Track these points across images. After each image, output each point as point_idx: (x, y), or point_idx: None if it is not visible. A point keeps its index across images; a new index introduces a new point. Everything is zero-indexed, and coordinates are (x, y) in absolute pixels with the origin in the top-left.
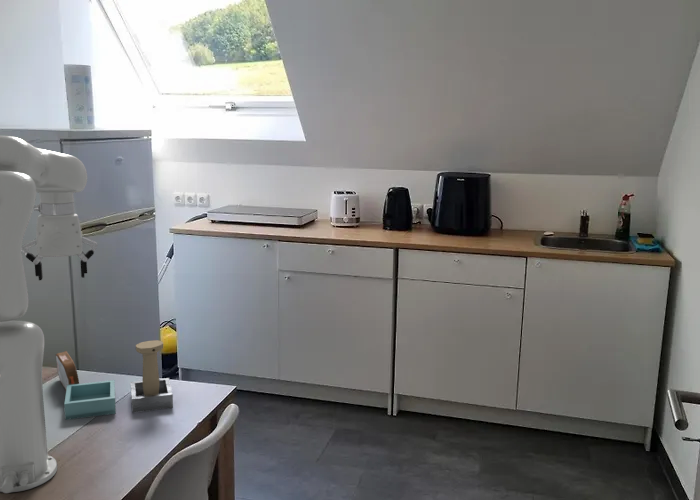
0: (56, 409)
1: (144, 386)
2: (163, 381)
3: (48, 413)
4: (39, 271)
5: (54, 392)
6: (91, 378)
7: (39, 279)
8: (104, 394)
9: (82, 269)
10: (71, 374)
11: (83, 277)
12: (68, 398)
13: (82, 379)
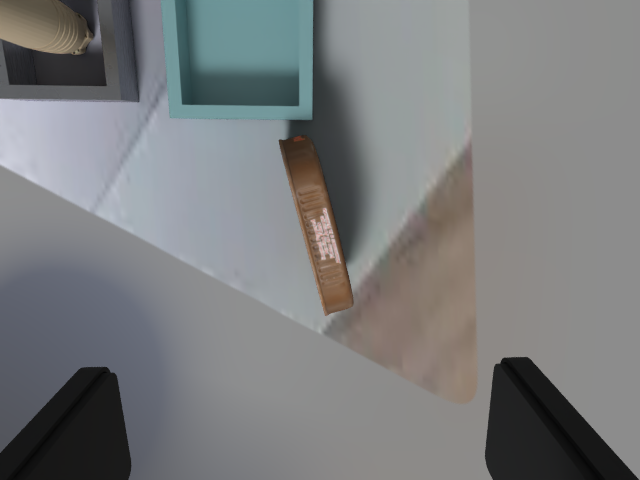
0: (340, 64)
1: (60, 4)
2: (18, 85)
3: (360, 42)
4: (564, 414)
5: (350, 187)
6: (257, 257)
7: (520, 359)
8: (210, 101)
9: (46, 423)
10: (298, 144)
11: (95, 368)
12: (302, 2)
13: (281, 256)
